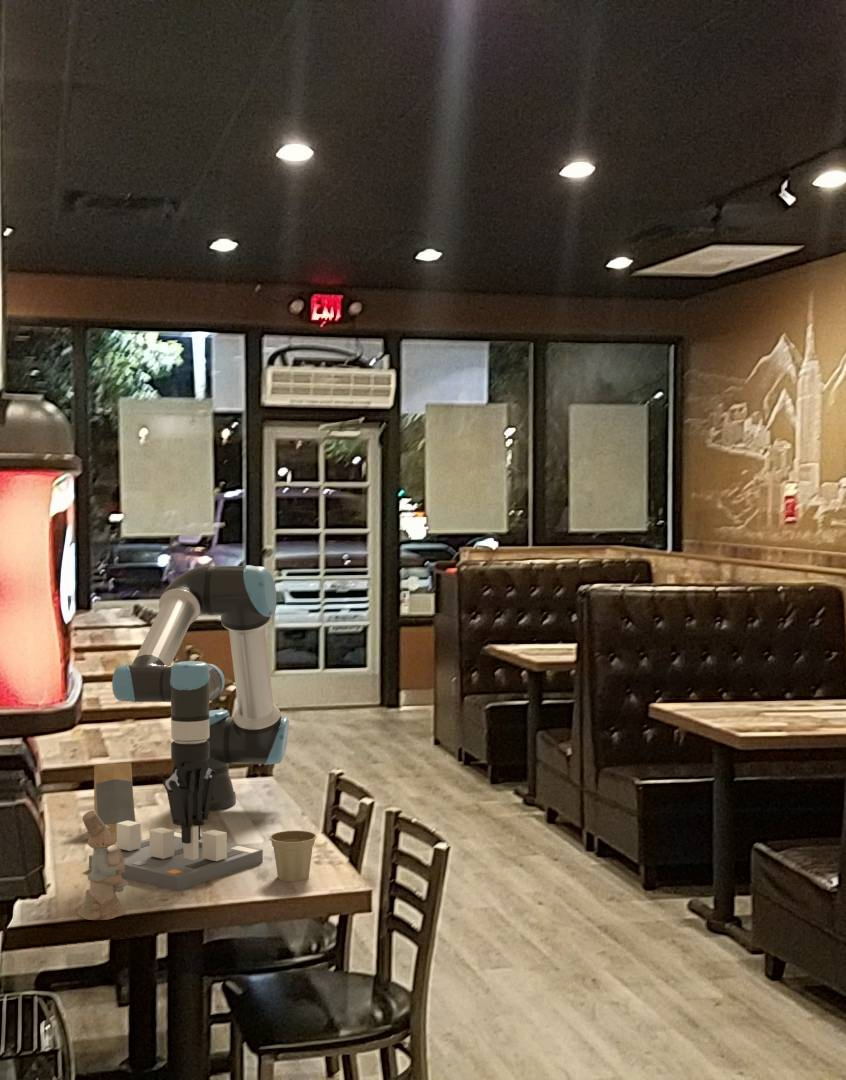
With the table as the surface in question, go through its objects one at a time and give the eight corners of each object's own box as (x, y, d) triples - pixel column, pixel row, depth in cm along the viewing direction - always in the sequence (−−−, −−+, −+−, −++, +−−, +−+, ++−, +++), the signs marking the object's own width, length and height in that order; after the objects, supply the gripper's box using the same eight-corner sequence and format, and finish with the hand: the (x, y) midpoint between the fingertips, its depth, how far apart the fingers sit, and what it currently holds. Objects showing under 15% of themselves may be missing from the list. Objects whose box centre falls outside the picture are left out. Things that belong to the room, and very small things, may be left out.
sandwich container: (98, 846, 278) (98, 778, 278) (94, 828, 293) (93, 764, 292) (138, 842, 281) (137, 775, 280) (131, 826, 295) (131, 762, 295)
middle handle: (160, 852, 260) (160, 827, 260) (174, 855, 258) (174, 830, 258) (149, 855, 258) (149, 830, 258) (163, 858, 256) (163, 833, 255)
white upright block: (212, 854, 259) (212, 829, 258) (226, 857, 256) (226, 832, 256) (202, 858, 256) (202, 832, 256) (216, 861, 254) (216, 835, 254)
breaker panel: (175, 844, 279) (175, 830, 279) (262, 863, 264) (262, 848, 263) (88, 870, 259) (88, 854, 259) (177, 892, 244) (177, 876, 244)
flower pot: (270, 872, 258) (270, 830, 257) (317, 871, 258) (317, 829, 258) (268, 886, 248) (268, 842, 248) (316, 885, 249) (316, 841, 249)
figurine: (78, 925, 225) (77, 814, 225) (77, 911, 233) (76, 803, 233) (129, 920, 228) (128, 810, 227) (126, 906, 236) (125, 800, 235)
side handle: (127, 844, 266) (127, 820, 266) (140, 847, 264) (140, 823, 264) (116, 848, 264) (116, 823, 264) (129, 851, 261) (129, 826, 261)
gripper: (200, 733, 258) (201, 847, 258) (152, 743, 247) (153, 862, 248) (227, 737, 253) (227, 853, 254) (179, 747, 243) (180, 869, 243)
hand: (191, 858), depth 251 cm, fingers closed
